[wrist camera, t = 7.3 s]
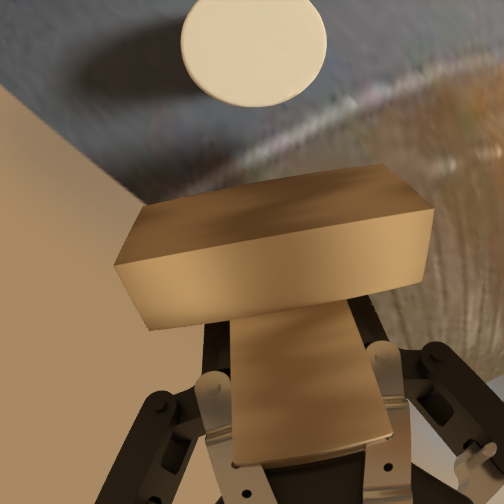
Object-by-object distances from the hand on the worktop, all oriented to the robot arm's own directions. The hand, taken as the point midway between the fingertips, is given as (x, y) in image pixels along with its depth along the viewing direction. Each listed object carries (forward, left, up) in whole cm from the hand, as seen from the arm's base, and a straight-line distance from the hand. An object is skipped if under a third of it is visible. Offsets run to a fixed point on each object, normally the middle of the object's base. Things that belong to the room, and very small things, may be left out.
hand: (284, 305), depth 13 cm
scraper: (0, -1, -2) cm, 2 cm away
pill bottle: (-1, -10, -8) cm, 13 cm away
